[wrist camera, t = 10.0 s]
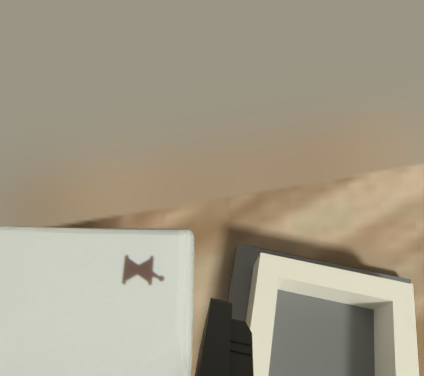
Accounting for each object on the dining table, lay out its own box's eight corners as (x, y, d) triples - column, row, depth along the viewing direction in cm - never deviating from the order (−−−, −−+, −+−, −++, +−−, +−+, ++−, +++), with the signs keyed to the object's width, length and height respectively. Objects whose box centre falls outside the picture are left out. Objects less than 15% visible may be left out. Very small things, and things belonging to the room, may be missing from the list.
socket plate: (196, 485, 24) (198, 499, 20) (236, 247, 32) (243, 229, 28) (418, 536, 23) (459, 560, 20) (404, 282, 31) (431, 268, 28)
